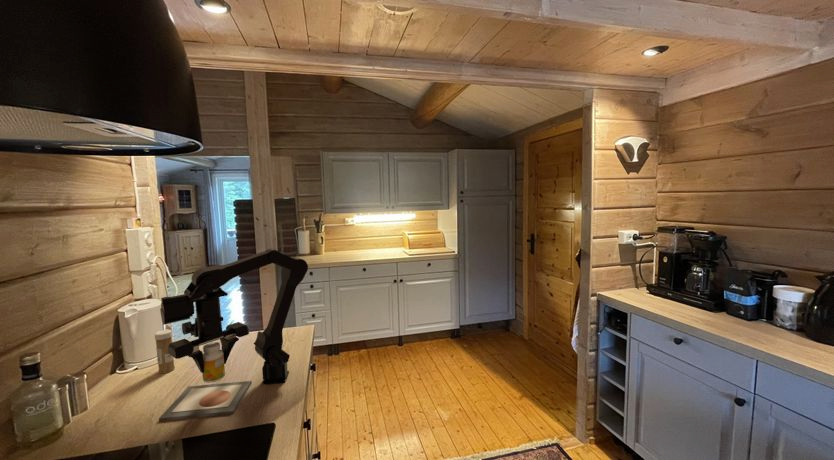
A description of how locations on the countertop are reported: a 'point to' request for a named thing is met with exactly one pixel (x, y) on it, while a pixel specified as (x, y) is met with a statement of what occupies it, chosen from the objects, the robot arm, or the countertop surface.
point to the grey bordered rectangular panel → (207, 401)
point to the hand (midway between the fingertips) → (213, 368)
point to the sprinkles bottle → (164, 351)
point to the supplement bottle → (213, 362)
